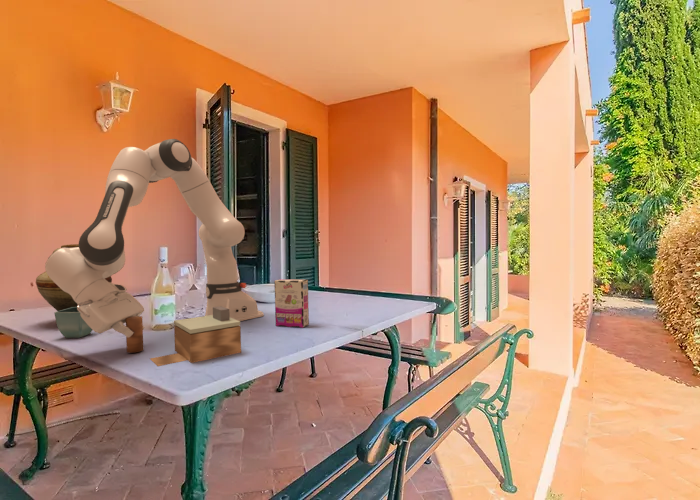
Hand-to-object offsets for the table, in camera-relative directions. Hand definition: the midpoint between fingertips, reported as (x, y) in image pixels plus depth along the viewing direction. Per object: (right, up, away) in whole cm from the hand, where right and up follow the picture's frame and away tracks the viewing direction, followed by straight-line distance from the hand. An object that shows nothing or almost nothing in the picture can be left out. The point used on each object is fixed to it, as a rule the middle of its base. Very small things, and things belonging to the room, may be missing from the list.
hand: (137, 332), depth 107 cm
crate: (+17, -6, -2) cm, 18 cm away
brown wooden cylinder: (-1, -5, 0) cm, 5 cm away
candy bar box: (+38, -5, +33) cm, 50 cm away
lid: (+19, +2, -1) cm, 19 cm away
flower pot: (-32, -6, +23) cm, 39 cm away
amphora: (-47, -5, +44) cm, 64 cm away
